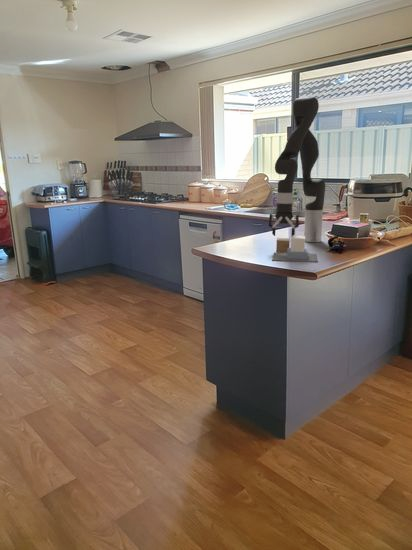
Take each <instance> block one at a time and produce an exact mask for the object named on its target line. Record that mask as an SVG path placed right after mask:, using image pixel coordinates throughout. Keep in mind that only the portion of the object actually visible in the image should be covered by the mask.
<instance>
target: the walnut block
mask: <svg viewBox="0 0 412 550" xmlns="http://www.w3.org/2000/svg"><path fill="white" fill-rule="evenodd" d="M290 243H291V237H290V238H289V237H277V238H276V245H275V246H276V247H275V248H276V251H275V252H280V253H287V250H288V248H290Z"/></svg>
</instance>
